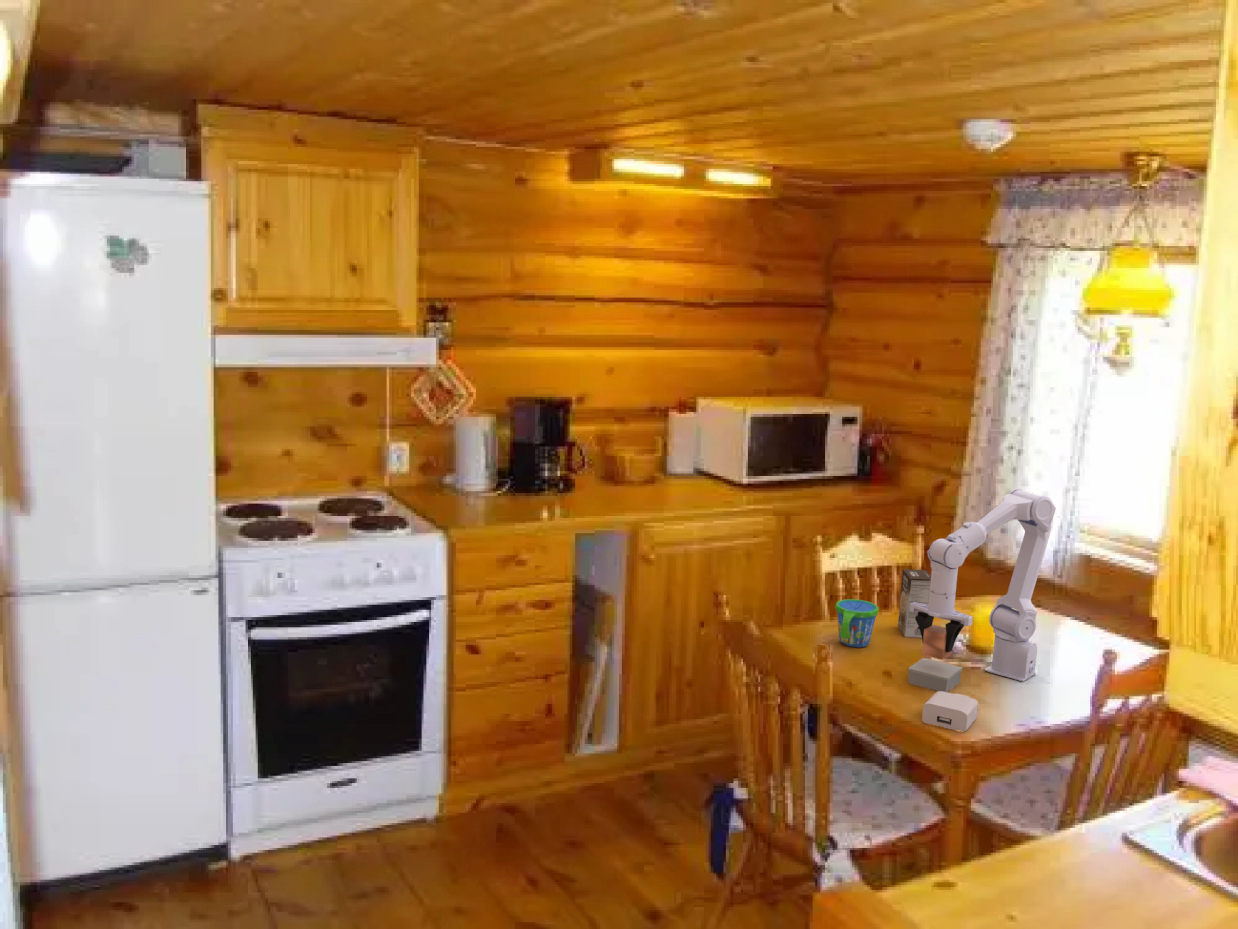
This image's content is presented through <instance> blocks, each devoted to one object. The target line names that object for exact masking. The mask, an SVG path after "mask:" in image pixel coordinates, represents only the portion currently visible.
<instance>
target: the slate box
mask: <svg viewBox="0 0 1238 929" xmlns="http://www.w3.org/2000/svg"><path fill="white" fill-rule="evenodd" d="M907 668H908V669H907V670H908V681H907V682H908V684H909V683H910V685H914V686H916V687H917V686H918V687H921V688H924V687H925V688H924V689H929V690H933V691H935V692H938V691H943V692H948V693H949V691H951V690H952V689H953V688H955V687H956V686H957V685H958V684H960V682H961V677H962V675H961V674H962V670H963V666H960V665H956V664H950V663H946V662H943V661H938V660H935V659H931V658H928V657H927V658H926V657H923V658H921V659H919V660H918V661H916V662H915V663H913V664H912V665H911V666H909V667H907Z"/></svg>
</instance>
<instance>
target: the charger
mask: <svg viewBox="0 0 1238 929" xmlns="http://www.w3.org/2000/svg"><path fill="white" fill-rule="evenodd" d="M978 710H979V702H978V700H977V699H975V698H973V697H970V696H969V695H965V694H960V693H952V692H949V691H948V692H943V691H935V693H934V694H933V695H932V696H931V697H930V698H929V699H928V700H927V701H926V702H925V703H924V704H923V706H922V716H921V721H922V722H923V723H925V724H927V725H931V724H934V725H933V726H935V725H937V726H936V727H938V726H942V727H944V728H943V729H946V728H948V729H947V730H950V729H953V730H952V731H954V730H961V731H965V732H967V730H968V729H969V728H970V727H971V726H972V724H973V723H974V722H975V721H976V720H977V718H978ZM942 727H941V728H942Z"/></svg>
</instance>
